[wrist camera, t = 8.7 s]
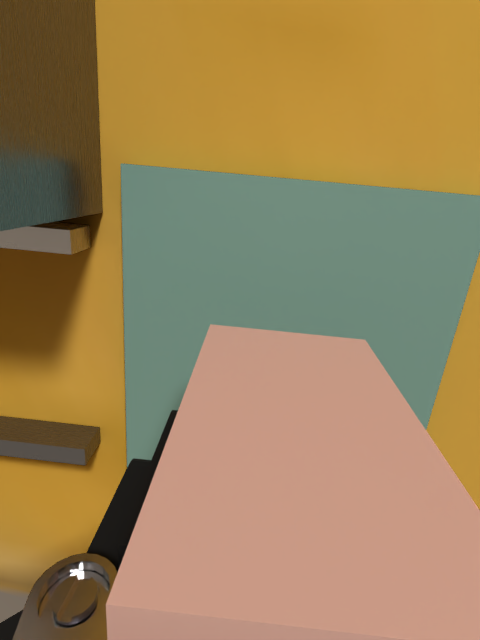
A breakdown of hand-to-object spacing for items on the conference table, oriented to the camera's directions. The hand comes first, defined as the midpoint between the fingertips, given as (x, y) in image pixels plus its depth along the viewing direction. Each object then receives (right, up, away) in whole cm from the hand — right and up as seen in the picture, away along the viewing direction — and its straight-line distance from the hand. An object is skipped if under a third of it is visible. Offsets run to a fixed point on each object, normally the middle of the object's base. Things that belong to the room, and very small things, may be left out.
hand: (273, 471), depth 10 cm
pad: (+1, +2, +5) cm, 6 cm away
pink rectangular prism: (0, 0, +1) cm, 1 cm away
